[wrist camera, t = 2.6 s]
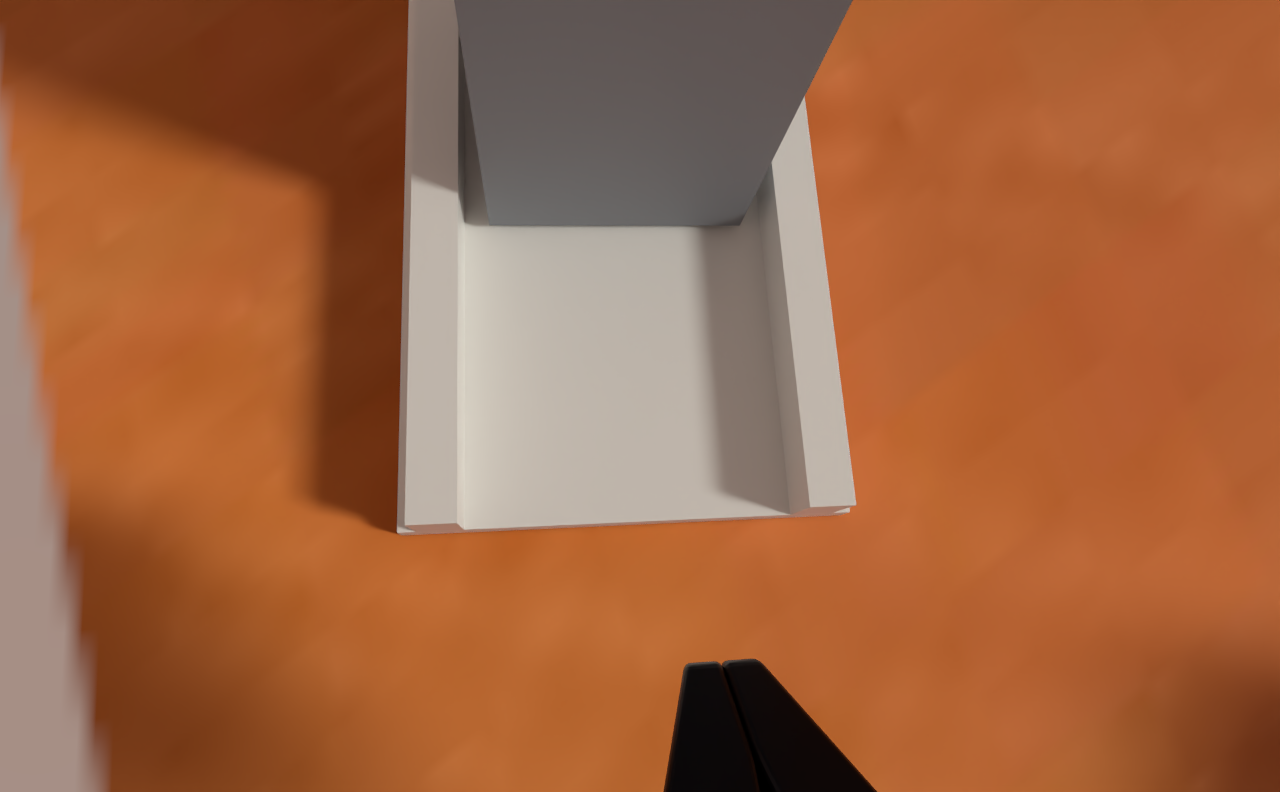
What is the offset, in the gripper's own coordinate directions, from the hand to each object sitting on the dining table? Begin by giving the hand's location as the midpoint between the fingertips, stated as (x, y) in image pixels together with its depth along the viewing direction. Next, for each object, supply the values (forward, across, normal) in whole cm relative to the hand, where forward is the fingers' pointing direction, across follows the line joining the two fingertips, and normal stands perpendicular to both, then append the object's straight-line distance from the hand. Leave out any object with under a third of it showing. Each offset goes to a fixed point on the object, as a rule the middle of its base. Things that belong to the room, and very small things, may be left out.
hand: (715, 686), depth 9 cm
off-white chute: (+13, 0, -1) cm, 13 cm away
